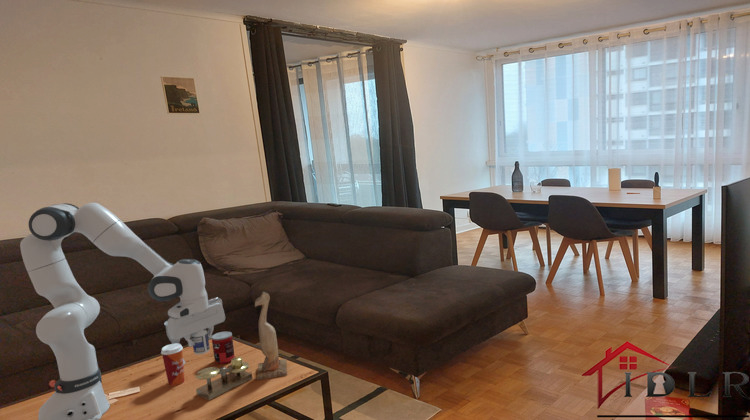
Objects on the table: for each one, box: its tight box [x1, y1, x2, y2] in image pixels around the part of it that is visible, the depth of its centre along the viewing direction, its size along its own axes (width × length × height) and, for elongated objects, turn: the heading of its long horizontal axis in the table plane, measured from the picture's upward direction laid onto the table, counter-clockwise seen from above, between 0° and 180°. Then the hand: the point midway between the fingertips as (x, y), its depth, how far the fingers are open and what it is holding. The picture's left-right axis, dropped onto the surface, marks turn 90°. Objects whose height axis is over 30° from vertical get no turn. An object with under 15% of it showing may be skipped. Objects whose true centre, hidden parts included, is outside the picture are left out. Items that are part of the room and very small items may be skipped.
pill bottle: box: [190, 326, 211, 355], centre depth 171 cm, size 5×5×10 cm
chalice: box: [163, 320, 186, 365], centre depth 199 cm, size 7×7×18 cm
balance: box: [195, 356, 253, 401], centre depth 176 cm, size 20×8×8 cm, turn 140°
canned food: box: [211, 331, 236, 365], centre depth 199 cm, size 8×8×11 cm
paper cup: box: [160, 343, 185, 387], centre depth 183 cm, size 8×8×14 cm
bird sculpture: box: [254, 291, 288, 381], centre depth 184 cm, size 11×12×32 cm
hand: (200, 342), depth 171 cm, fingers closed on pill bottle, 5 cm apart
